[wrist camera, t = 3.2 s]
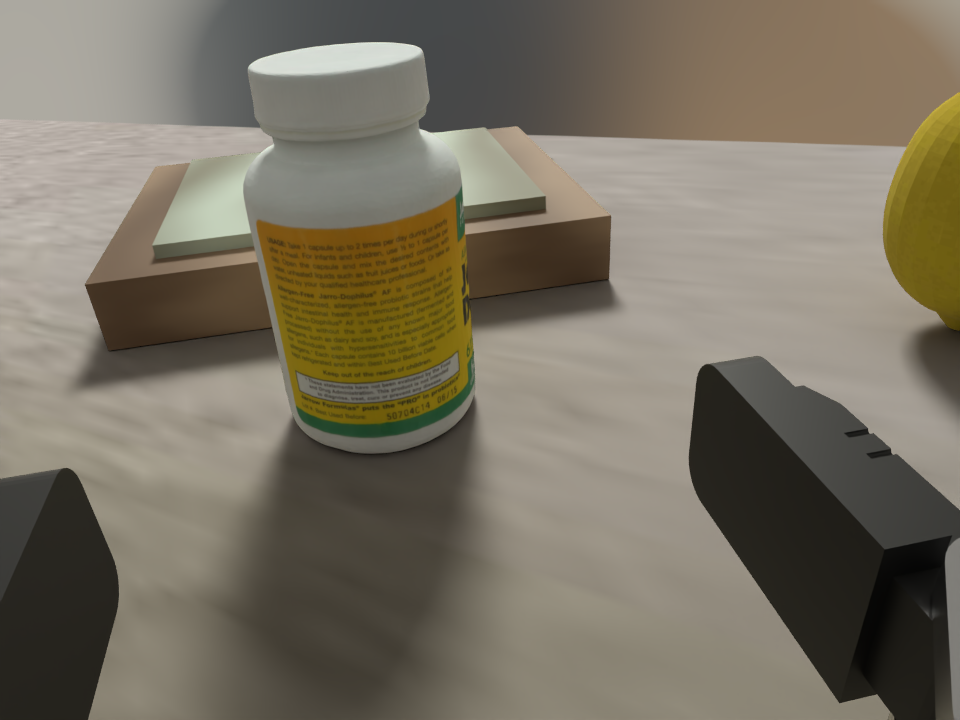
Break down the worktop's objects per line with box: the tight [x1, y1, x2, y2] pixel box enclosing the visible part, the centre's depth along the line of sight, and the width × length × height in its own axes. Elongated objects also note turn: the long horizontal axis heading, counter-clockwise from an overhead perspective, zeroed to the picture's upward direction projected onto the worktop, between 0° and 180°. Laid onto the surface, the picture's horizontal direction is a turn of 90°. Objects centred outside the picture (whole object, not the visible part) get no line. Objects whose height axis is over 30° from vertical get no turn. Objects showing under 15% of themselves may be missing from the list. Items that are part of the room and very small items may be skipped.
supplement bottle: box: [243, 42, 475, 454], centre depth 20 cm, size 5×5×10 cm
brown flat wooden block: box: [85, 126, 611, 351], centre depth 32 cm, size 18×14×3 cm
